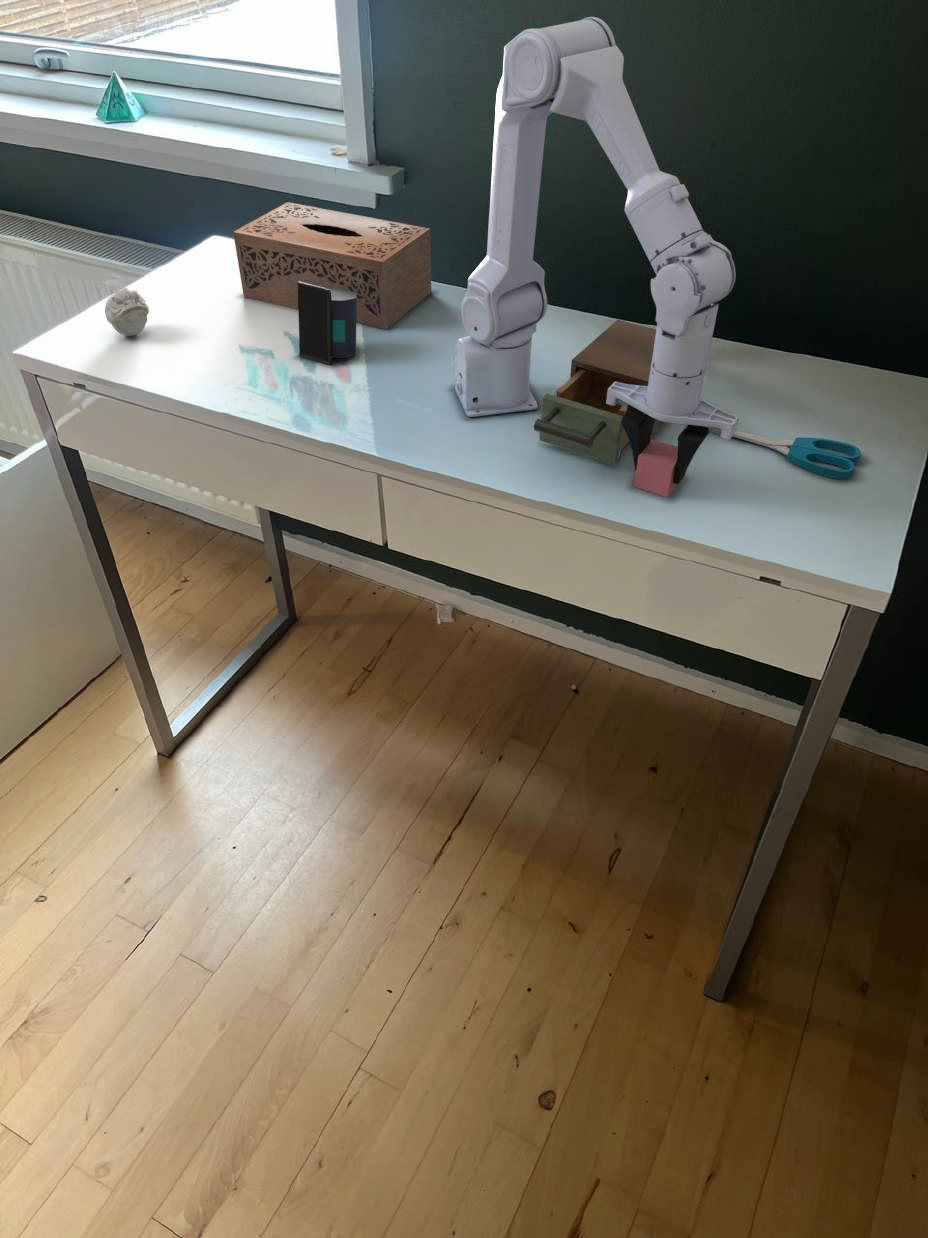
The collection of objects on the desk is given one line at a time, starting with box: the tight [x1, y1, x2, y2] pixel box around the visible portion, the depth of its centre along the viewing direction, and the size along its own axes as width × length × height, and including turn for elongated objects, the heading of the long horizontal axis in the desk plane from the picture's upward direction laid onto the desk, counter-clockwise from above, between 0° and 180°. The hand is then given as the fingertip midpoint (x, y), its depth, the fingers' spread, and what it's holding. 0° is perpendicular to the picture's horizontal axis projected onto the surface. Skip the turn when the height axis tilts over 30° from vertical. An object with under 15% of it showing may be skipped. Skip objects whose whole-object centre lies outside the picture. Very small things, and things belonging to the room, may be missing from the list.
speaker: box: [297, 281, 357, 366], centre depth 127 cm, size 8×6×10 cm
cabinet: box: [569, 319, 664, 436], centre depth 118 cm, size 13×11×8 cm
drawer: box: [533, 368, 644, 465], centre depth 111 cm, size 17×10×6 cm, turn 148°
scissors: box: [732, 430, 862, 480], centre depth 113 cm, size 7×1×20 cm
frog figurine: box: [104, 287, 150, 337], centre depth 133 cm, size 6×7×7 cm
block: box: [633, 438, 679, 498], centre depth 106 cm, size 4×4×4 cm
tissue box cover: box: [232, 201, 432, 330], centre depth 142 cm, size 26×14×10 cm, turn 64°
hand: (659, 473), depth 106 cm, fingers closed on block, 4 cm apart
